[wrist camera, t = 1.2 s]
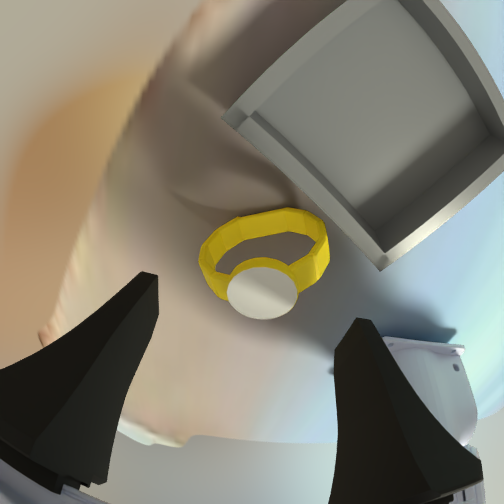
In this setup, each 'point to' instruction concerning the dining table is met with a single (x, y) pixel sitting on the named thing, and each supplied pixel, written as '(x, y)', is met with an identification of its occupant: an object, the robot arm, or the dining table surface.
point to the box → (380, 121)
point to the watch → (265, 263)
